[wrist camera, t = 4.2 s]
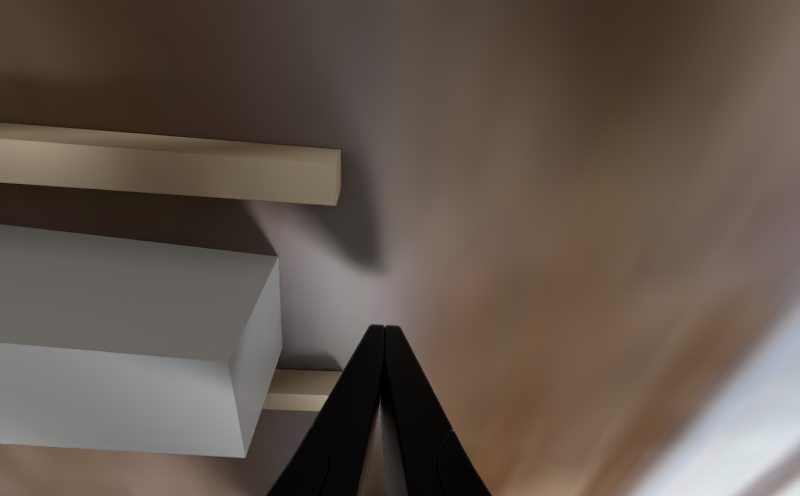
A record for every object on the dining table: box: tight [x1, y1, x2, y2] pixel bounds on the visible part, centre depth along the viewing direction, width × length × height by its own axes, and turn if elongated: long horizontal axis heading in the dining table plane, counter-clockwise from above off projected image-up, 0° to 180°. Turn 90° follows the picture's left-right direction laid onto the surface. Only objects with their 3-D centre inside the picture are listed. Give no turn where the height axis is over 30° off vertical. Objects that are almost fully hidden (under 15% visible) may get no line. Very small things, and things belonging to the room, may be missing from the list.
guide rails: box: [0, 123, 342, 411], centre depth 10 cm, size 19×10×1 cm, turn 85°
